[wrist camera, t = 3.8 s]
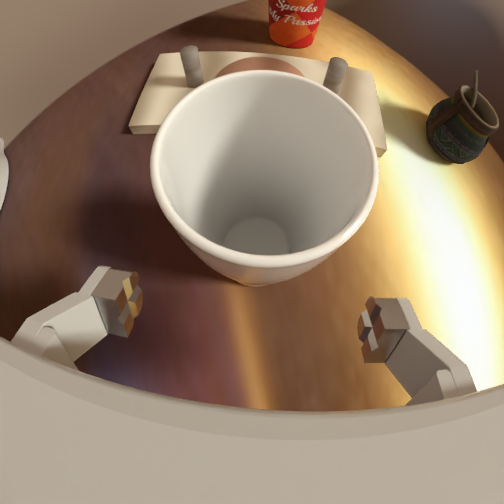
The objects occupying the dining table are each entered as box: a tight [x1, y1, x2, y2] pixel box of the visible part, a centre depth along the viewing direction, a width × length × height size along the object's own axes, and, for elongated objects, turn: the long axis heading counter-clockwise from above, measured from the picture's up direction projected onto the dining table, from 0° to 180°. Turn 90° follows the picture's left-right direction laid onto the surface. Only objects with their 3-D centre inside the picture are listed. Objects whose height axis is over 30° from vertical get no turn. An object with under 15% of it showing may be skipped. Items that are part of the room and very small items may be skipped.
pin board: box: [129, 45, 387, 157], centre depth 22 cm, size 24×11×6 cm, turn 84°
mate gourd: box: [426, 68, 499, 164], centre depth 20 cm, size 7×8×10 cm
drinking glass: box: [150, 70, 379, 287], centre depth 15 cm, size 7×7×15 cm
